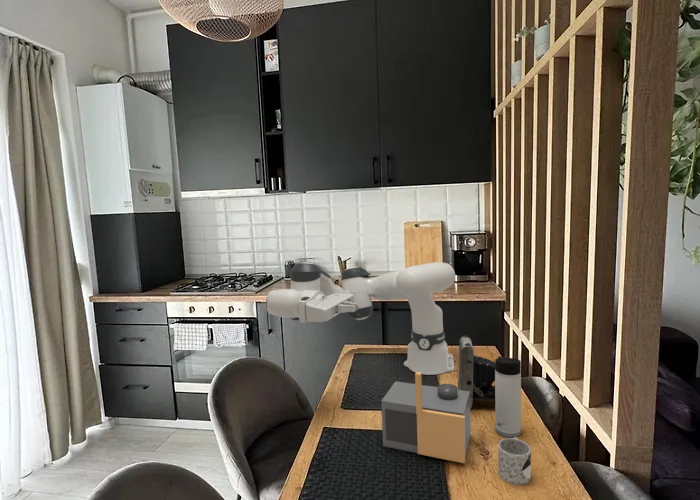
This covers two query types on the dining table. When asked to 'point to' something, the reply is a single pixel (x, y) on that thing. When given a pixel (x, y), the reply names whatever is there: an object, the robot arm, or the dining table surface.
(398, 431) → the housing
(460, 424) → the side door
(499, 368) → the travel mug
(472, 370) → the vintage camera
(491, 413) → the dining table surface
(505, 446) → the mug
